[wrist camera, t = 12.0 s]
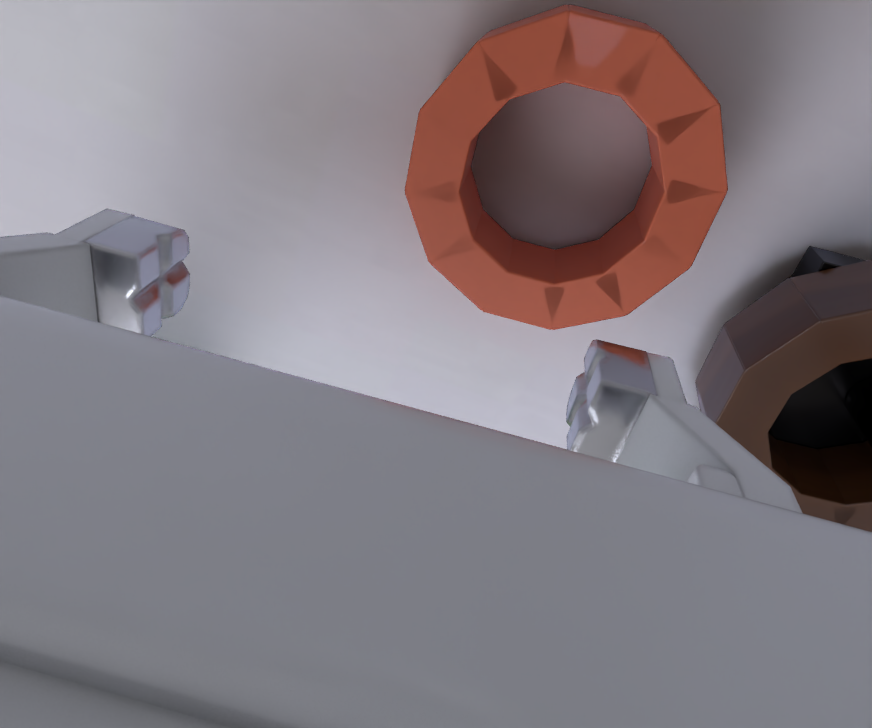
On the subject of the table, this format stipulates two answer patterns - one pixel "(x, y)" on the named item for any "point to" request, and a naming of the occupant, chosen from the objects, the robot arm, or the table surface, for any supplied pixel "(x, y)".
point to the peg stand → (828, 389)
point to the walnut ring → (796, 383)
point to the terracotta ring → (630, 238)
